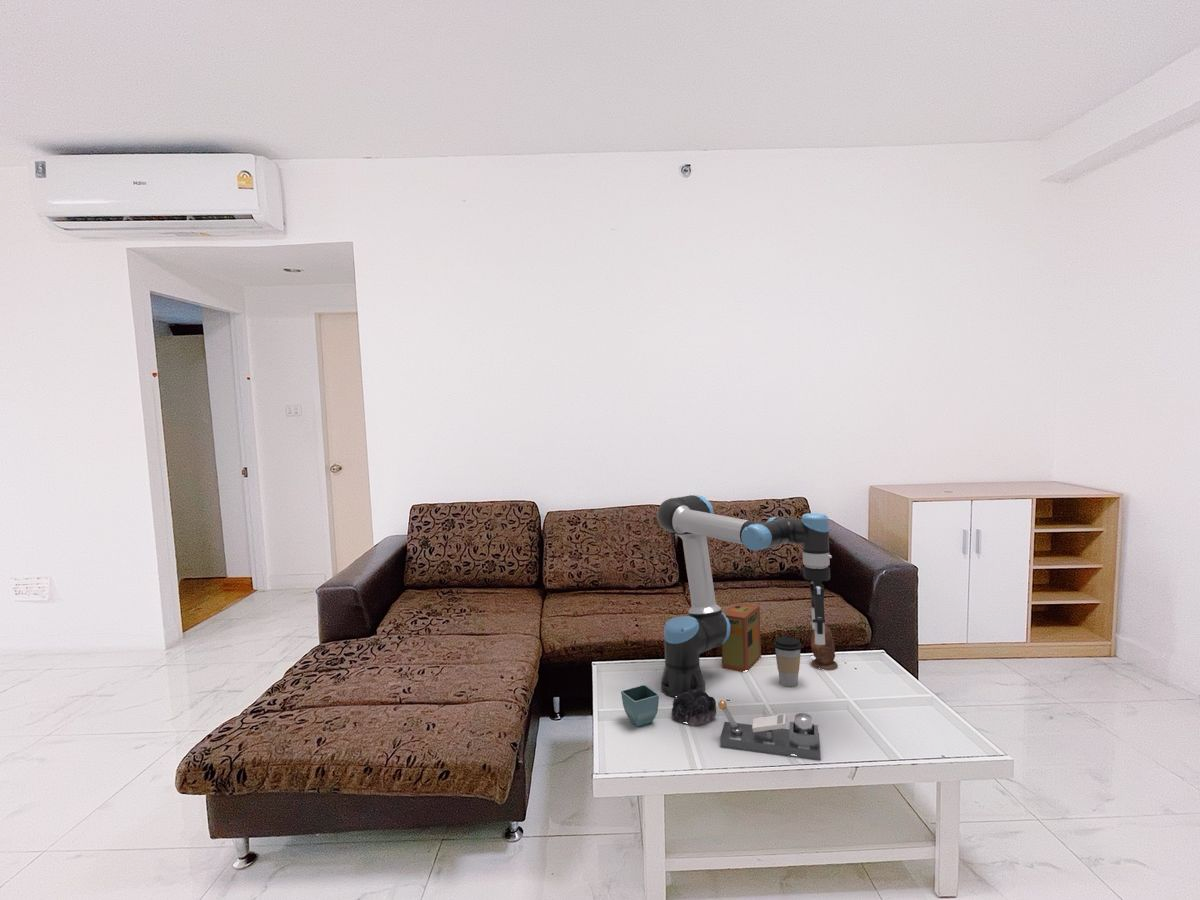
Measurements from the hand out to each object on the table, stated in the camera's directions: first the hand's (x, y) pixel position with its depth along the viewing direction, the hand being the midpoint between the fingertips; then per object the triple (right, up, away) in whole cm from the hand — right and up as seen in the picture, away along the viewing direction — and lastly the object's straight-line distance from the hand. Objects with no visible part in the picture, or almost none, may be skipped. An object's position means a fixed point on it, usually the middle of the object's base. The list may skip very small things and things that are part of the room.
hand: (818, 636), depth 180 cm
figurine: (+17, -23, +40) cm, 49 cm away
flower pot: (-53, -27, +3) cm, 59 cm away
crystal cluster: (-37, -26, +5) cm, 45 cm away
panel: (-18, -26, -13) cm, 34 cm away
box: (-12, -24, +46) cm, 53 cm away
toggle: (-27, -23, -10) cm, 37 cm away
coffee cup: (-1, -24, +26) cm, 36 cm away
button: (-10, -21, -16) cm, 28 cm away
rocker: (-18, -20, -13) cm, 30 cm away
